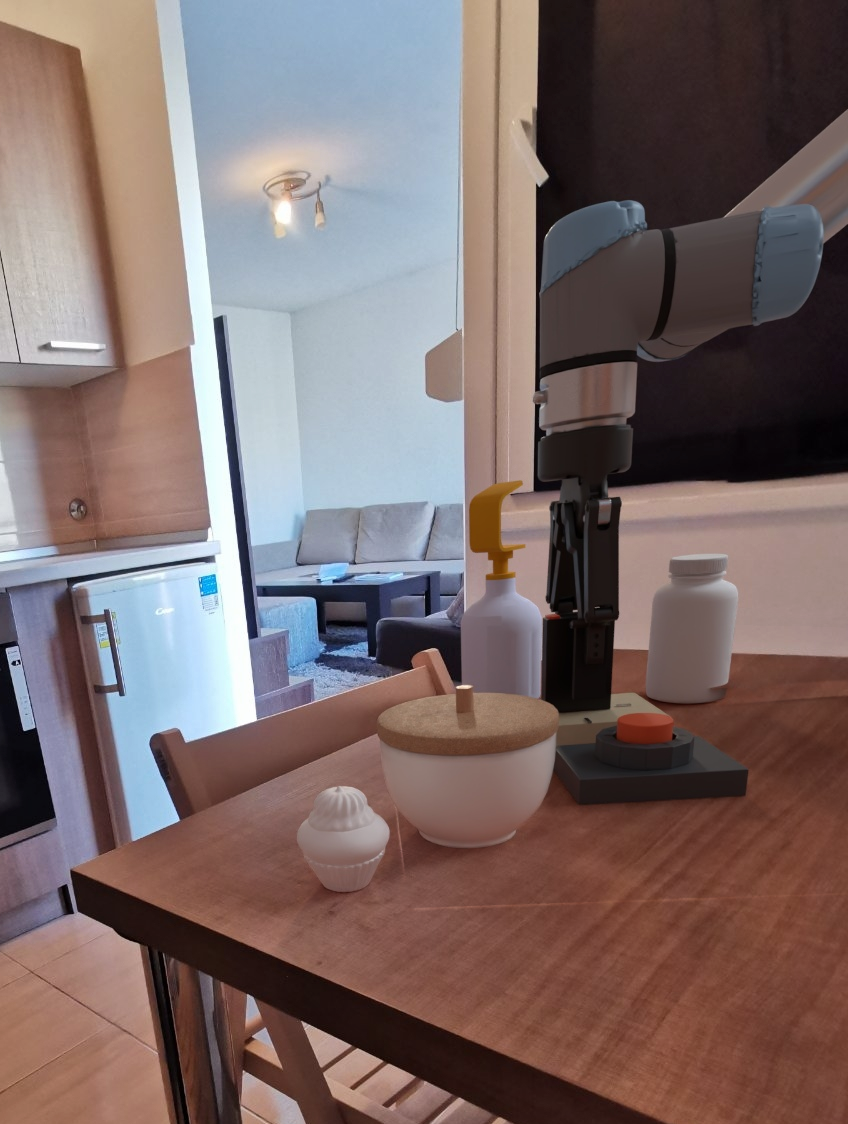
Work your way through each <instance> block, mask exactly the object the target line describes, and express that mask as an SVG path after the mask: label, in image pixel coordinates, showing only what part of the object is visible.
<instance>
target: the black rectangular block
mask: <svg viewBox="0 0 848 1124" xmlns="http://www.w3.org/2000/svg"><path fill="white" fill-rule="evenodd" d="M576 619H578V614H575V615H564V616H559V615H557V614H555V613H550V614H545V616H544V617H542V638H541V694H540V700H543V701H546V702H548V703H550V704H552V705H553V706H554V707H555V708H556V709H557V710H558V713H561V712H575V711H588V710H601V709H610V708H611V694H612V688H613V687H612V686H613V668H614V667H613V665H614V647H615V646H614V645H615V629H616V627H615V626H616V620H615V621H611V624H610V625H609V633H608V653H607V674H606V695H605V697H604V698H591V699H578V700H574V699H572V676H573V646H574V628H572V629H571V628H570V622H571V621H573V620H576Z"/></svg>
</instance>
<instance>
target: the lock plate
mask: <svg viewBox="0 0 848 1124" xmlns="http://www.w3.org/2000/svg"><path fill="white" fill-rule="evenodd" d="M633 713H657V714H663V715H667V716H670V715H669V714H668V713H665V712H664V711H663V710H662V709H660V708H658V707H657V706H655V705H654V704H652V703H651V702H649V701H648V700H647V699H645V698H644V697H643V696H640V695H639V694H637V693H636V692H621V693H611V708H610V709H601V710H588V711H575V712H561V713H559V726H558V730H557V732H556V746H559V745H574V744H589V743H596V735H597V734H598V733H599V732H600V731H601V730H602V729H605V728H609V727H613V726H617V720H618V718H619V717H621V716H623V715H627V714H633Z"/></svg>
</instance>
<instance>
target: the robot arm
mask: <svg viewBox="0 0 848 1124" xmlns="http://www.w3.org/2000/svg"><path fill="white" fill-rule="evenodd" d="M847 225H848V108H847V109H846V110H845V111H844V112H842V113H841V114H840V115H839V116H838V117H837V118H836V119H835V120H834V121H832V122H831V123H830V124H829V125H828V126H826V127H825V128H824V129H823V130H822V131H821V132H820V133H818V134H817V135H816V136H814V138H812V140H810V141H809V142H808V143H807V144H806V145H805V146H804V147H803V148H801V149H800V150H799V151H797V153H795V154H794V155H793V156H792V157H791V158H790V159H788V161H786V162H785V163H784V164H783V165H782V166H781V167H780V168H778V169H777V170H776V171H775V172H774V173H772V174H771V175H770V176H768V178H767V179H765V181H763V182H762V183H761V184H760V185H759V186H758V187H756V189H754V190H753V191H752V192H751V193H749V195H748V196H746V197H745V198H744V199H743V200H741V201H740V202H739V203H738V204H737V205H736V206H735V207H733V208H732V210H730V211H729V212H728V213H726V215H724V216H723V217H719V218H715V219H714V218H713V219H710V220H704V221H700V222H695V223H690V224H685V225H680V226H675V227H669V228H664V229H658V228H656V229H648V222H646V211H645V208H644V206H643V205H642V203H640V202H639V201H636V200H630V199H627V200H622V201H615V200H610V201H609V200H608V201H605V202H601V203H596V204H592V205H589V206H586V207H582V208H580V209H578V210H575V211H572V212H571V213H569V214H567V215H564V216H563V217H562V218H560V219H559V220H558V221H556V222H555V223H554V224H553V225H552V226H551V227H550V229H549V231H548V232H547V234H546V235H545V237H544V240H543V248H542V249H543V250H542V265H541V281H540V282H541V283H540V292H539V380H540V382H539V390H538V391H535V392H534V393H533V395H532V403H533V404H535V405H540V407H539V417H538V420H539V421H538V423H539V425H538V426H539V429H541V430H542V431H546V432H545V434H546V435H545V436H543V437H541V438H540V441H538V444H537V478H538V480H539V481H541V482H544V483H545V482H553V481H561V486H560V493H559V500H551V501H550V504H549V507H548V509H549V517H550V519H549V524H550V525H549V526H550V527H549V545H548V560H547V575H546V576H547V577H546V579H547V580H546V594H545V596H544V597H545V603H546V604H548V605H549V610H550V612H551V613H554V614H557V615H559V616H564V615H575V614H578V619H576V620H573V621H571V622H570V628H571V629H572V628H574V646H573V676H572V699H574V700H578V699H591V698H604V697H605V695H606V674H607V653H608V633H609V625H610V624H611V621H615V622H616V621H618V619H619V617H620V601H619V600H620V550H619V549H620V535H619V534H620V521H621V520H620V519H621V510H622V506H623V503H622V499H621V497H620V496H611V497H610V496H609V489H608V480H607V479H608V475H612V474H618V473H625V472H627V471H628V470H629V469H630V468H631V466H632V455H633V440H634V439H633V437H634V427H633V428H632V425H631V424H627V419H628V418H629V419H630V418H631V417H633V416H634V415H635V413H636V402H637V401H636V400H637V398H636V397H637V378H638V357H639V358H641V359H643V360H645V361H647V362H648V361H649V362H653V363H654V362H655V363H660V362H662V363H663V362H667V361H674V360H678V359H681V358H683V357H685V356H686V355H688V354H689V353H690V352H692V350H694V349H695V348H697V347H699V346H700V345H702V344H704V343H705V342H708V341H710V340H712V339H713V338H715V337H717V336H719V335H721V334H722V333H724V332H726V331H728V330H730V329H733V328H739V327H745V326H750V325H752V326H753V327H757V326H760V325H761V324H762V323H766V322H771V321H775V320H782V319H786V318H789V317H791V316H793V315H794V314H795V313H797V312H798V311H799V310H800V309H801V308H802V306H803V305H804V304H805V302H806V301H807V300H808V298H809V296H810V294H811V292H812V290H813V288H814V286H815V284H816V281H817V278H818V274H819V271H820V267H821V262H822V257H823V250H824V244H825V243H826V242H828V241H829V240H830V239H831V238H832V237H833V236H835V235H836V234H837V233H839V232H840V231H841V230H842V229H843V228H845V227H846V226H847Z"/></svg>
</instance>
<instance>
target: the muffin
mask: <svg viewBox="0 0 848 1124" xmlns="http://www.w3.org/2000/svg"><path fill="white" fill-rule="evenodd" d="M390 834H391V831H390V827H389V825H388V823H387V822H386V820H385V819H384V818H383V817H382V816H381V815H379V814H378V813H376V812H375V811H374V809H373V808H372V807H371V806H370V805H369V804H368V799H367V796H366V795H365V794H364V792H363V791H361V790H359V789H358V788H355V787H353V786H347V785H344V786H343V785H338V786H332V787H329V788H325V789H324V790H322V791H320V792H319V793H318V794H317V796H315V798H314V800H313V809H312V810H311V811H310V812H309V814H308V817H307V818H306V819H305V820H304V821H303V822H302V823H301V825H300V826H299V828H298V830H297V833H296V843H297V845H298V847H299V849H300V850H301V852H302V854H303V855H302V857H303V858H304V861H306V863H307V864H308V866H309V867H310V869H311V870H312V871H313V873H314V875H315V876H316V877H317V879H318V880H319V882H320V883H321V884H322V886H323V887H324V888H326V890H329V891H333V892H337V893H352V892H356V891H360V890H361V889H362V890H363V889H364V888H366V887H367V886H368V885H369V884H370V882H371V881H372V879H373V877H374V875H375V873H376V871H377V869H378V867H379V865H380V863H381V861H382V859H383V857H384V855H385V853H386V847H387V844H388V842H389V839H390Z"/></svg>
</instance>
